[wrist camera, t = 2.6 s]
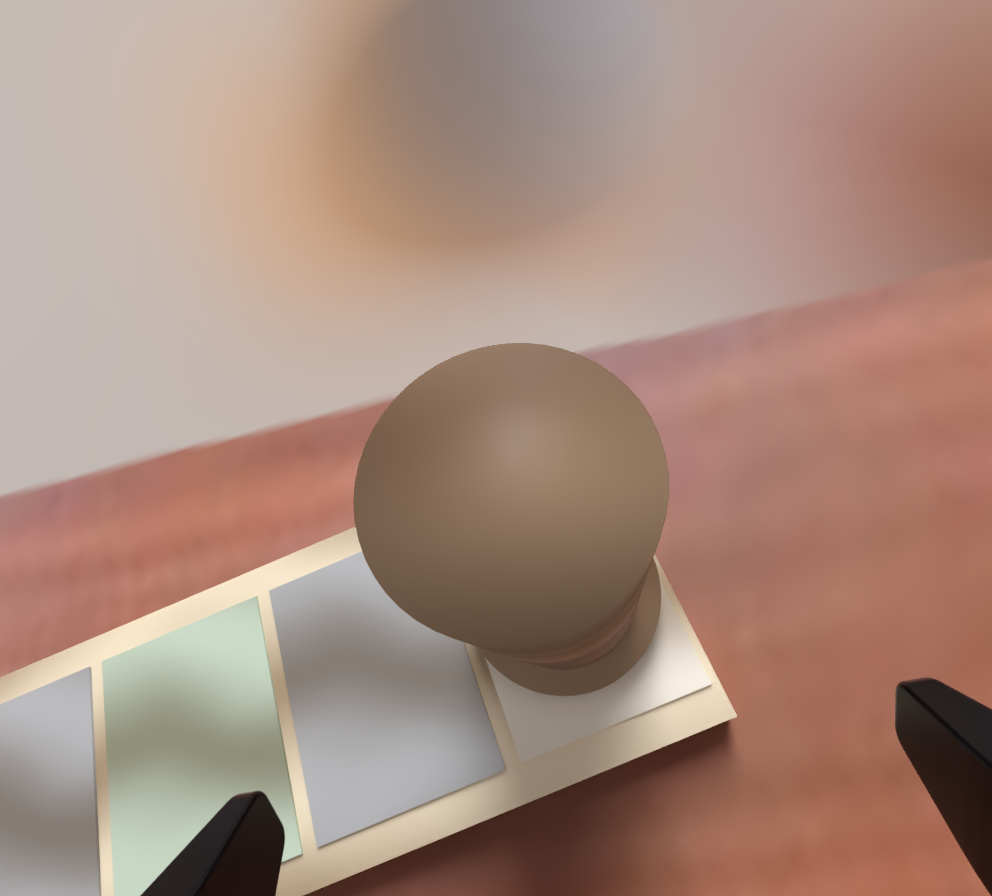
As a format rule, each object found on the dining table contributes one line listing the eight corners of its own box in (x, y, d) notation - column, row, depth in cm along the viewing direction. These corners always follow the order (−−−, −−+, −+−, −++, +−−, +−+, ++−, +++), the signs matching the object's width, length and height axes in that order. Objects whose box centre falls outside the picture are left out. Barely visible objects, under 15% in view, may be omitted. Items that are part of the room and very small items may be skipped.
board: (729, 714, 17) (737, 716, 16) (-47, 1035, 18) (-94, 1059, 16) (591, 440, 21) (590, 426, 20) (-32, 704, 22) (-68, 705, 21)
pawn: (694, 649, 17) (817, 594, 7) (508, 727, 17) (366, 782, 7) (607, 476, 19) (606, 253, 9) (446, 544, 19) (276, 395, 10)
